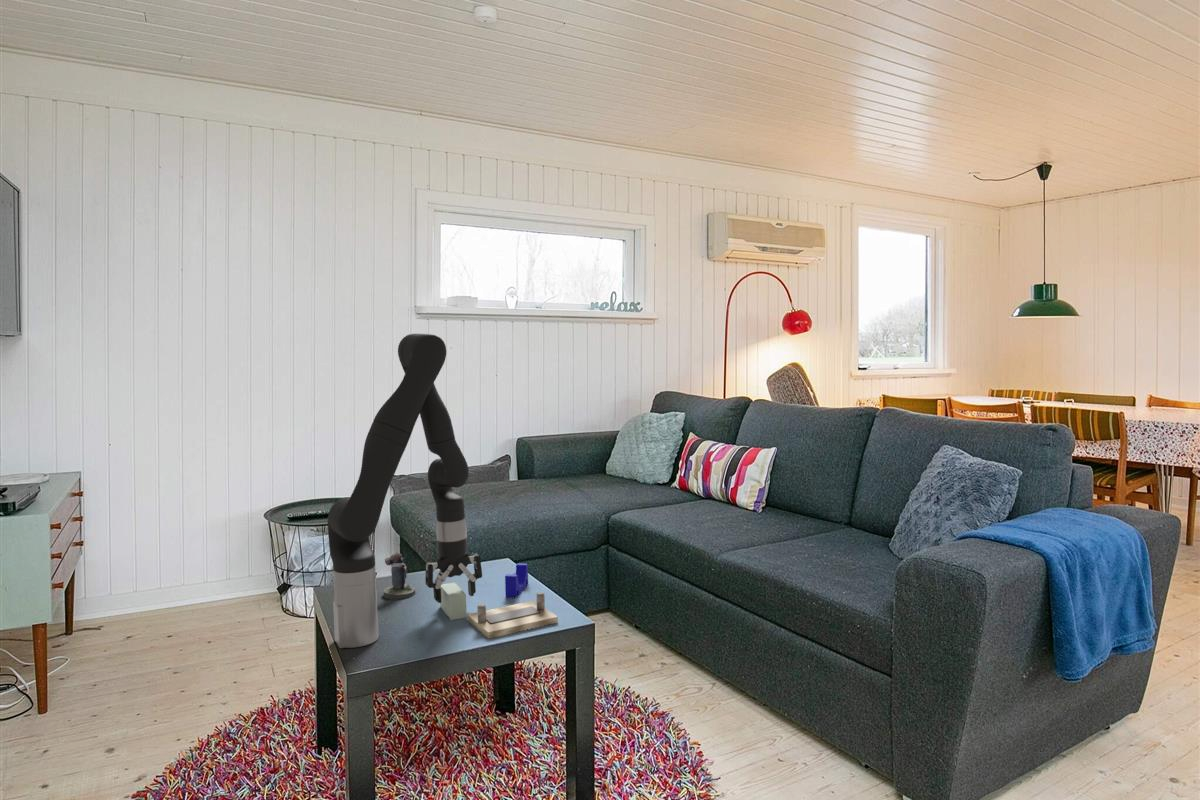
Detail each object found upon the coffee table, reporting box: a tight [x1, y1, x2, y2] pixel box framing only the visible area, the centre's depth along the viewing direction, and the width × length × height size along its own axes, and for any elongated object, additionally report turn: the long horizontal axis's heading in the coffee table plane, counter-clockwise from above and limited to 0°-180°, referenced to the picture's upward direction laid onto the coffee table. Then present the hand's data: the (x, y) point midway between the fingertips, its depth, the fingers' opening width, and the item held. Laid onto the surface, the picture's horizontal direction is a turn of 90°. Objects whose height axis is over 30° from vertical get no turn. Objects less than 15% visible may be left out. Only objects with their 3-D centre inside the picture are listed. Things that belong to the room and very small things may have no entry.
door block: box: [439, 581, 468, 621], centre depth 185 cm, size 11×4×6 cm, turn 26°
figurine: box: [383, 552, 416, 600], centre depth 200 cm, size 8×8×12 cm
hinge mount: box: [467, 592, 559, 639], centre depth 177 cm, size 18×14×6 cm
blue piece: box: [504, 562, 529, 598], centre depth 201 cm, size 12×4×6 cm, turn 170°
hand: (455, 598), depth 185 cm, fingers open, 8 cm apart
